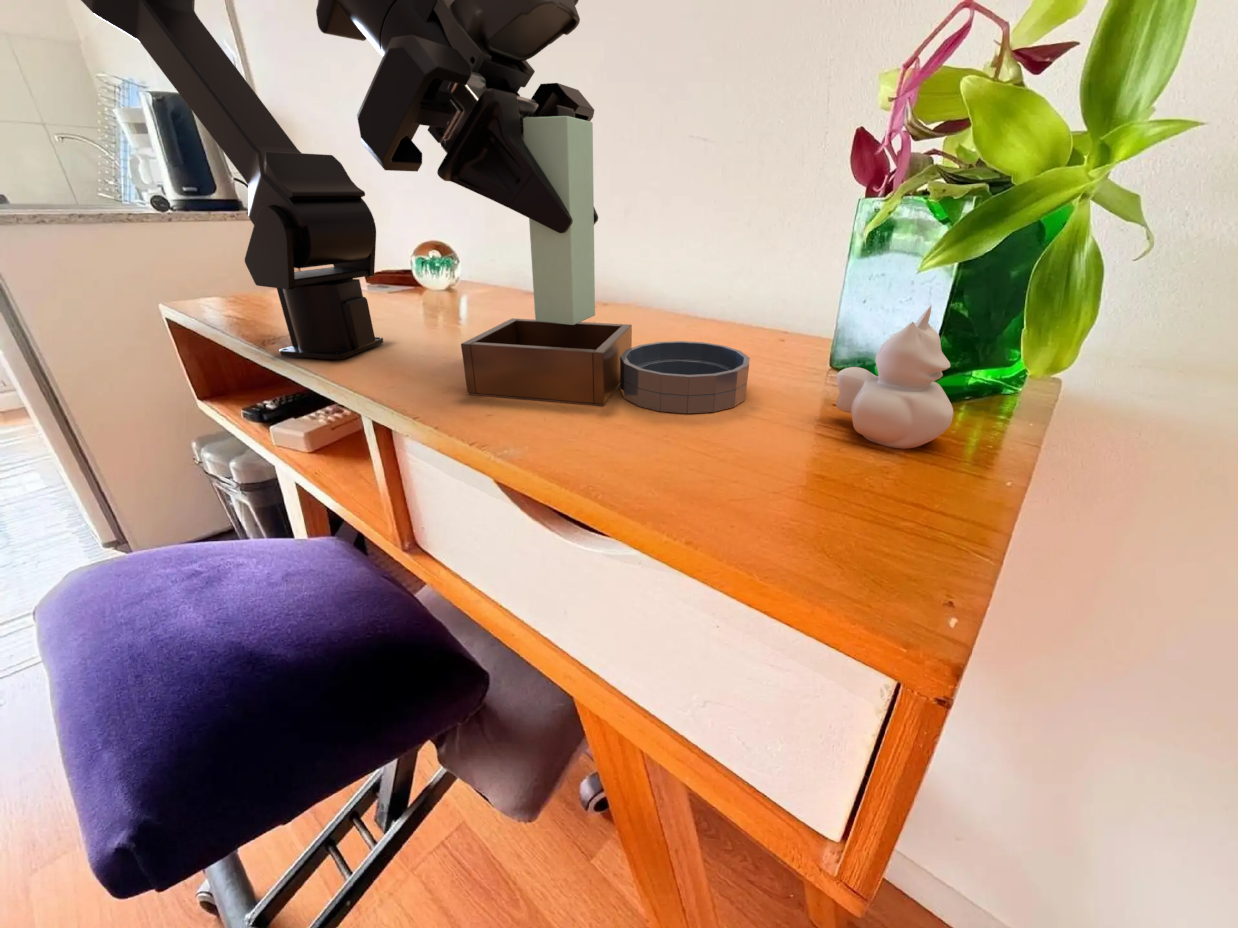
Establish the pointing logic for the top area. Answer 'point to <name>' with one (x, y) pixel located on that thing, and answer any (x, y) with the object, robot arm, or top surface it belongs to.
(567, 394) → the holder
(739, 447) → the top surface
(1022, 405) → the top surface
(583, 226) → the tall sage green pillar
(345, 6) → the robot arm
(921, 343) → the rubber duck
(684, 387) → the bowl
